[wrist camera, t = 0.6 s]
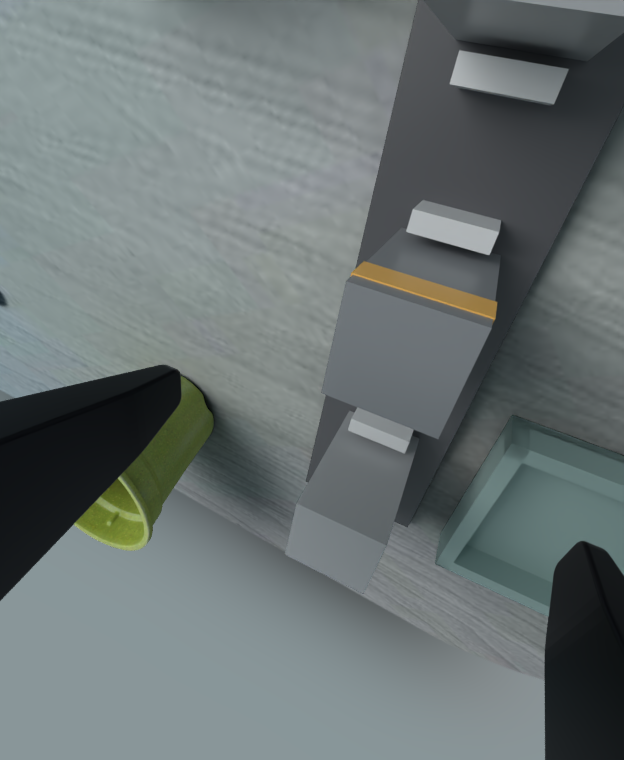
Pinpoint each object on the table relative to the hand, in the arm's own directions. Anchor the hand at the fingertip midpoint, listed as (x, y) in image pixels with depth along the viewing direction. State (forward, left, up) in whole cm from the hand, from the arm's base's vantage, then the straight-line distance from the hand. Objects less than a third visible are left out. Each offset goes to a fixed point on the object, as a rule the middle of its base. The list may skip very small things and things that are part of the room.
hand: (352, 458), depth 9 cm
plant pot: (+14, +14, -12) cm, 23 cm away
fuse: (0, 0, -11) cm, 11 cm away
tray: (-10, +10, -12) cm, 19 cm away
